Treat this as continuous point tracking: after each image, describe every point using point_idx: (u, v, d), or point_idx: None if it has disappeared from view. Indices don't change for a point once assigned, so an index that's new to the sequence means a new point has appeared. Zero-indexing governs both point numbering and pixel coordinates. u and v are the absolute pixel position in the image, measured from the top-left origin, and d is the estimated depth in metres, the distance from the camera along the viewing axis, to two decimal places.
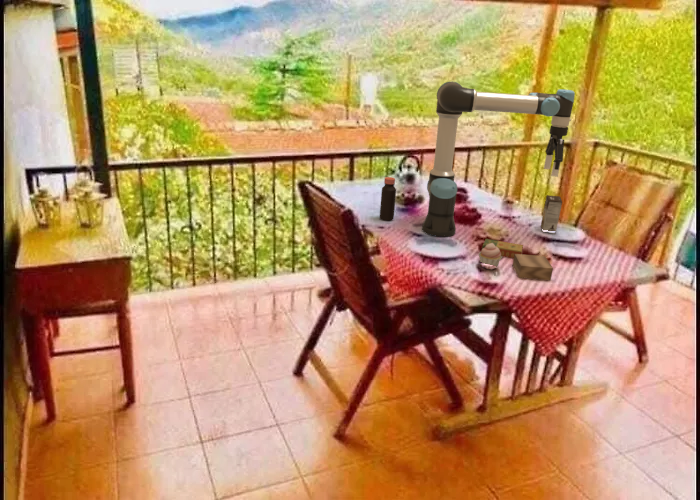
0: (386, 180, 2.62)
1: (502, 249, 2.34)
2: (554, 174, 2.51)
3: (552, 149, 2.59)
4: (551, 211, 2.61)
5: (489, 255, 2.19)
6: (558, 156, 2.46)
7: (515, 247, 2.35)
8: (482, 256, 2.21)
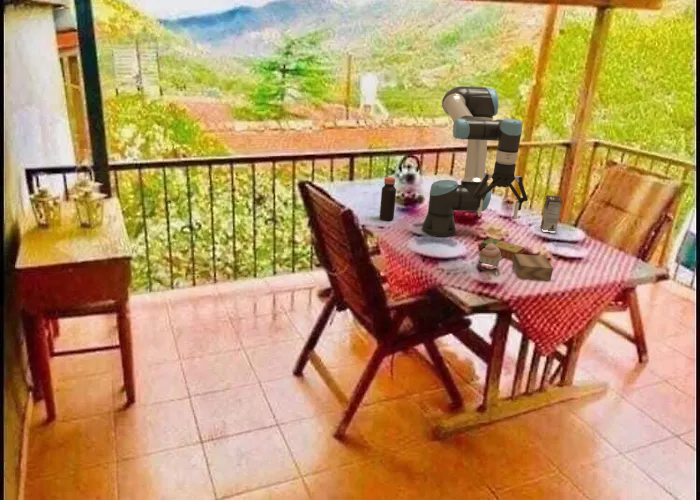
0: (386, 180, 2.62)
1: (499, 249, 2.34)
2: (478, 212, 2.16)
3: None
4: (551, 211, 2.61)
5: (489, 255, 2.19)
6: (475, 190, 2.14)
7: (513, 248, 2.33)
8: (482, 256, 2.21)
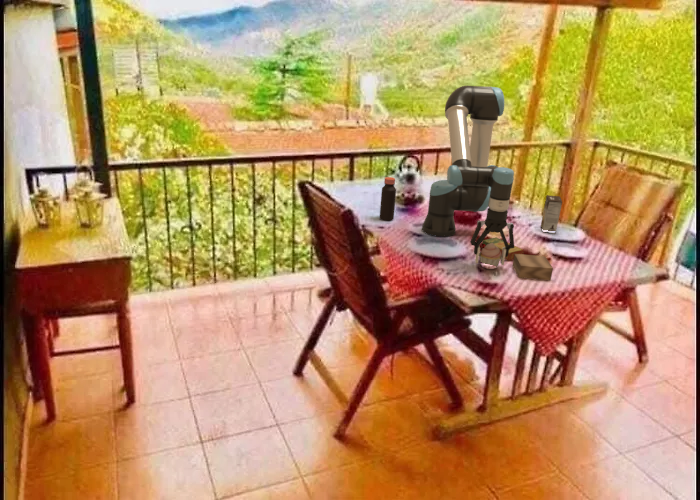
0: (386, 180, 2.62)
1: None
2: (475, 259, 2.23)
3: None
4: (551, 211, 2.61)
5: (489, 255, 2.19)
6: (472, 238, 2.21)
7: (510, 248, 2.33)
8: (482, 256, 2.21)
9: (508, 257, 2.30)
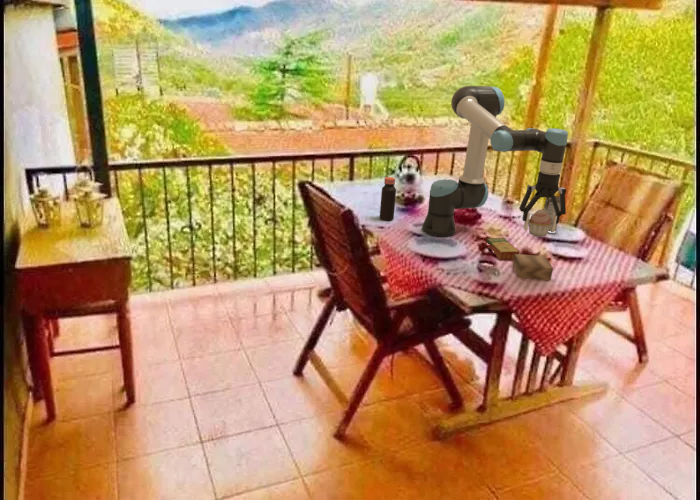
0: (386, 180, 2.62)
1: (494, 246, 2.37)
2: (524, 226, 2.14)
3: (553, 205, 2.10)
4: (551, 211, 2.61)
5: (539, 222, 2.09)
6: (521, 204, 2.11)
7: (506, 248, 2.32)
8: (532, 223, 2.11)
9: (500, 257, 2.30)
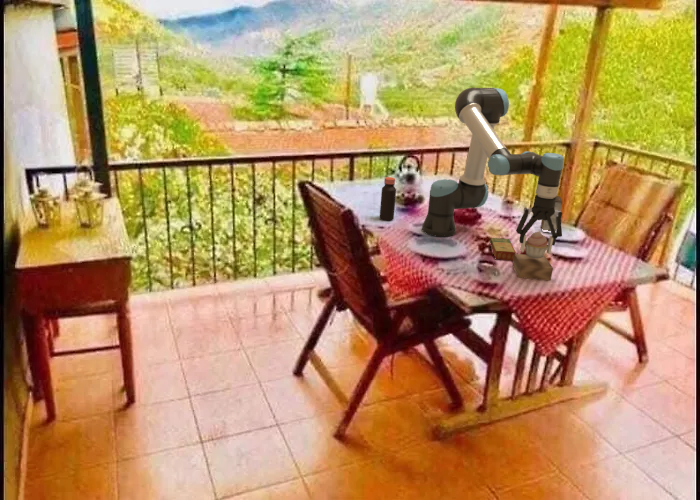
0: (386, 180, 2.62)
1: (493, 245, 2.37)
2: (521, 248, 2.17)
3: (549, 227, 2.13)
4: None
5: (536, 244, 2.12)
6: (518, 226, 2.15)
7: (503, 248, 2.32)
8: (528, 245, 2.14)
9: (495, 255, 2.31)
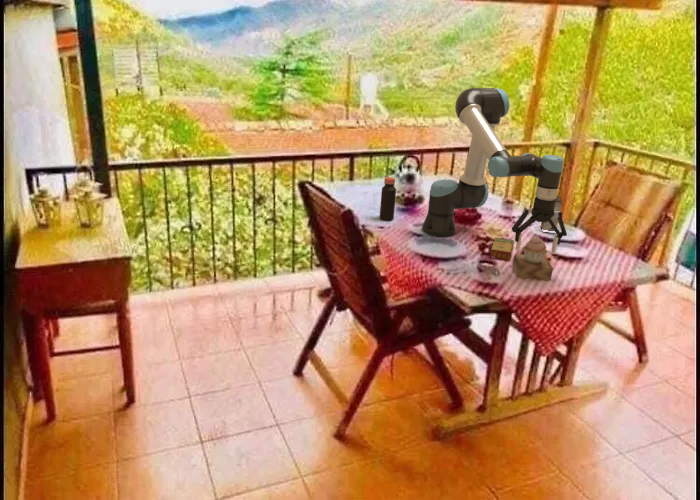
0: (386, 180, 2.62)
1: None
2: (516, 246, 2.17)
3: (553, 228, 2.13)
4: None
5: (534, 249, 2.13)
6: (514, 225, 2.15)
7: (500, 247, 2.33)
8: (527, 250, 2.15)
9: (490, 254, 2.32)
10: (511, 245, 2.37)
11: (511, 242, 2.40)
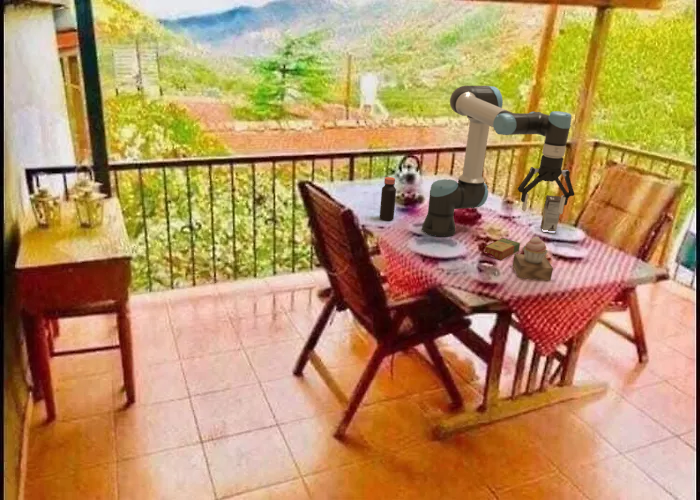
0: (386, 180, 2.62)
1: None
2: (522, 207, 2.12)
3: (560, 188, 2.08)
4: (551, 211, 2.61)
5: (534, 249, 2.13)
6: (520, 184, 2.09)
7: (495, 246, 2.34)
8: (527, 250, 2.15)
9: None
10: (511, 246, 2.36)
11: (514, 244, 2.39)
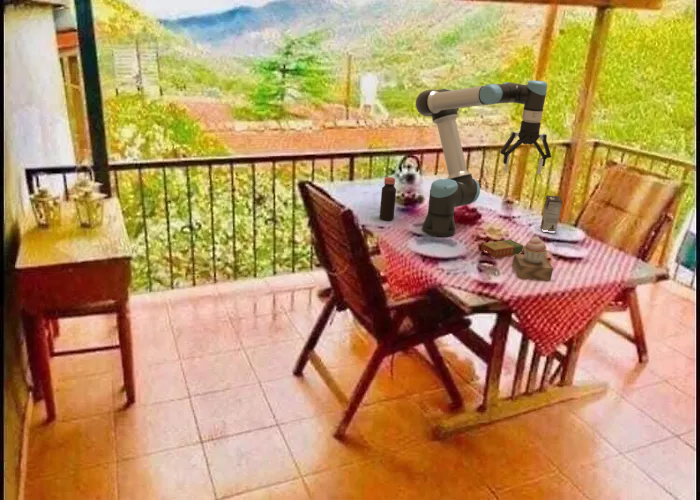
0: (386, 180, 2.62)
1: None
2: (505, 169, 2.34)
3: (538, 150, 2.30)
4: (551, 211, 2.61)
5: (534, 249, 2.13)
6: (502, 148, 2.32)
7: (492, 245, 2.35)
8: (527, 250, 2.15)
9: None
10: (509, 247, 2.35)
11: (516, 246, 2.37)
